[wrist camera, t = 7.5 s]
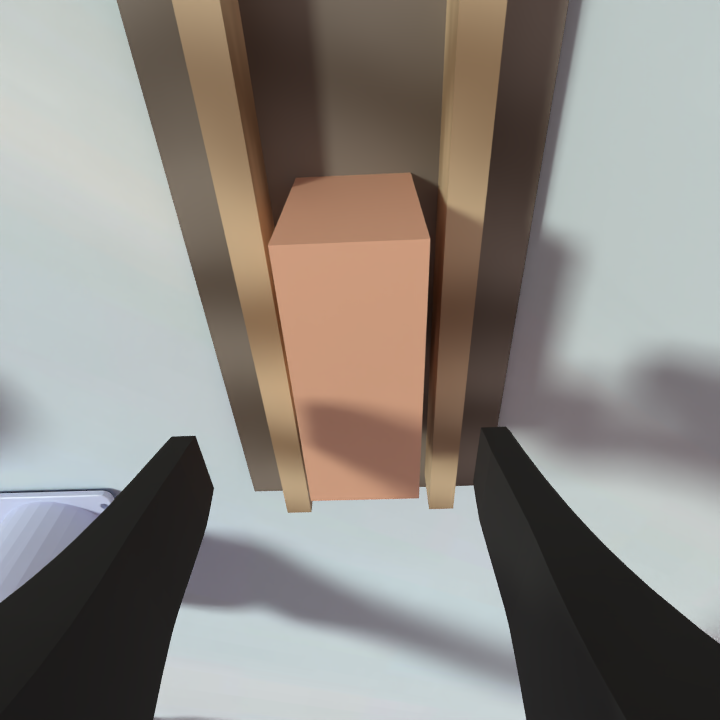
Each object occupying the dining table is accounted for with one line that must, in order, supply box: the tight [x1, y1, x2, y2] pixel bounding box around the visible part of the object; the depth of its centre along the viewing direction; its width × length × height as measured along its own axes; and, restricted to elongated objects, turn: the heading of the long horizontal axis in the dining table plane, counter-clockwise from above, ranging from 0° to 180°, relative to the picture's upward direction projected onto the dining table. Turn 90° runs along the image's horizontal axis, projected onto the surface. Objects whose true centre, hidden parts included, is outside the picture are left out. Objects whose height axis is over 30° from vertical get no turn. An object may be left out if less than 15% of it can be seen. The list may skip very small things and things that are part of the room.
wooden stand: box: [117, 0, 569, 513], centre depth 19 cm, size 24×13×3 cm, turn 3°
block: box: [268, 173, 430, 501], centre depth 17 cm, size 10×4×6 cm, turn 3°
